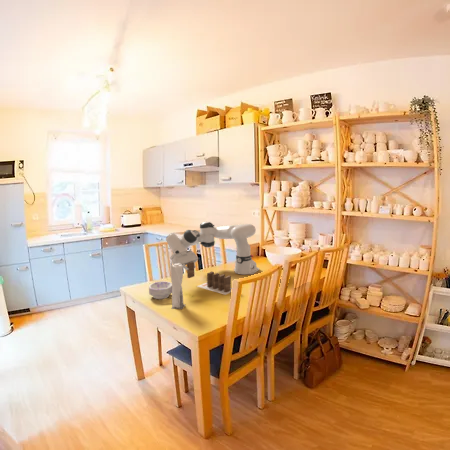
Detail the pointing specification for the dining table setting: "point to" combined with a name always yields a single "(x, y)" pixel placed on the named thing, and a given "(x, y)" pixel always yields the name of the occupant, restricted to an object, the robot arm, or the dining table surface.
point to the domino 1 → (190, 270)
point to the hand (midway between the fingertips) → (191, 268)
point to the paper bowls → (160, 289)
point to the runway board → (213, 289)
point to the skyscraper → (177, 286)
